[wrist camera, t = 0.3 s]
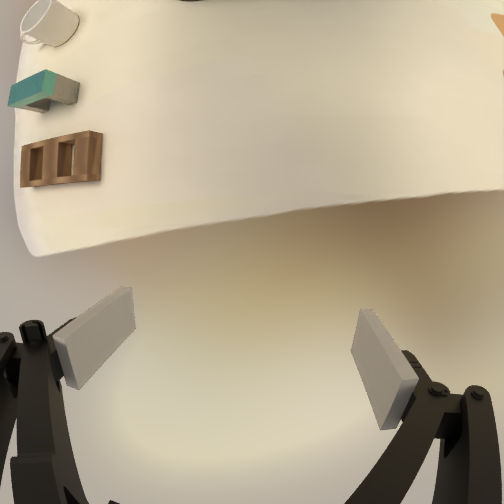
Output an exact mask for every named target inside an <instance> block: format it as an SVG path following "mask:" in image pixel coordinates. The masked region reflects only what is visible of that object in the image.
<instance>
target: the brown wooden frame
mask: <svg viewBox="0 0 504 504" xmlns="http://www.w3.org/2000/svg"><path fill="white" fill-rule="evenodd" d="M102 135H103V134H102V133H98V132H93V131H84V132H79V133H74V134H69V135H64V136H60V137H55V138H51V139H47V140H43V141H39V142H35V143H31V144H28V145H24V146H22V151H21V170H20V188H22V187H34V186H42V185H51V184H61V183H72V182H83V181H96V180H100V173H101V149H102ZM72 144H75V147H74V167H73V176H71V157H72Z"/></svg>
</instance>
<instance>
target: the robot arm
mask: <svg viewBox="0 0 504 504" xmlns="http://www.w3.org/2000/svg"><path fill="white" fill-rule="evenodd" d="M183 1H197V0H183ZM19 329H20V333H21V337H22V340H23V343H16V342H15V339H14V336H13V334H12V333H9V332H2V333H0V485H1V479H2V474H3V469H4V464H5V459H6V455H7V451H8V446H9V442H10V439H11V435H12V431H13V428H14V424H15V420H16V418H17V453H18V455H17V457H12V458H11V460H10V469H11V481H12V490H13V497H14V504H89V503H88V501H87V499H86V497H85V494H84V491H83V488H82V485H81V482H80V479H79V474H78V471H77V467H76V464H75V459H74V455H73V451H72V447H71V442H70V437H69V432H68V427H67V421H66V416H65V410H64V402H63V395H62V386H61V383H60V379H61V378H62V377H63V376H64V378H65V381H66V384H67V386H70V387H72V388H75V389H77V390H80V389H81V388H82V387H83V386H84V384H85V383H86V382H87V381H88V380H89V379H90V378H91V377H92V375H93V374H94V373H95V372H96V371H97V370H98V369H99V368H100V367H101V366H102V365H103V363H104V362H105V361H106V360H107V359H108V358H109V357H110V356H111V355H112V353H114V352H115V350H116V349H117V348H118V347H119V346H120V345H121V344H122V343H123V342H124V341H125V340H126V339H127V337H128V336H129V335H130V334H131V333H132V332H133V331H134V330H135V329H136V327H135V316H134V306H133V294H132V288H131V287H124V286H121V287H119V288H118V289H116V290H115V291H113V292H112V293H110V294H109V295H108V296H106V297H105V298H103V299H102V300H101V301H99V302H98V303H96V304H95V305H93V306H92V307H91V308H89V309H88V310H86V311H85V312H84V313H82V314H81V315H79V316H78V317H75V318H73V319H70V320H69V321H68V322H66V323H65V324H64V325H62V326H60V327H59V328H58V329H56V330H55V331H54V332H52V333H51V334H49V335H48V336H46V332H45V327H44V324H43V322H42V321H39V320H30V321H26V322H24V323H22V324H21V325H20V327H19ZM351 353H352V355H353V358H354V360H355V363H356V366H357V368H358V371H359V373H360V376H361V379H362V381H363V384H364V387H365V389H366V392H367V395H368V398H369V400H370V403H371V405H372V408H373V411H374V414H375V417H376V420H377V423H378V426H379V428H380V430H388V429H396V428H397V426H398V424H399V422H400V420H402V422H403V423H402V425H401V426H400V428H399V430H398V431H397V433H396V435H395V436H394V438H393V439H392V441H391V443H390V444H389V445H388V447H387V449H386V450H385V452H384V453H383V454H382V456H381V457H380V459H379V460H378V462H377V463H376V464H375V466H374V467H373V469H372V470H371V471H370V473H369V474H368V475H367V477H366V478H365V479H364V480H363V482H362V483H361V484H360V485H359V487H358V488H357V489H356V490H355V492H354V493H353V494H352V495H351V496H350V498H349V499H348V500H347V501H346V502H345V504H400V503H401V502H402V500H403V498H404V497H405V495H406V493H407V491H408V490H409V488H410V486H411V484H412V483H413V480H414V479H415V477H416V475H417V473H418V471H419V469H420V467H421V465H422V463H423V461H424V459H425V457H426V455H427V453H428V451H429V448H430V446H431V444H432V442H433V439H434V438H437V439H440V451H439V461H438V470H437V477H436V484H435V491H434V496H433V501H432V504H502V482H501V465H500V454H499V444H498V436H497V430H496V423H495V417H494V412H493V407H492V402H491V397H490V394H489V392H488V391H487V390H486V389H485V388H483V387H481V386H477V385H476V386H475V385H472V386H469V387H468V388H467V389H466V390H465V392H464V394H463V395H460V394H450V391H449V389H448V388H447V387H446V386H445V385H443V384H441V383H439V382H432V380H431V379H430V377H429V376H428V374H427V373H426V371H425V370H424V369H423V368H422V366H421V364H420V363H419V362H418V360H417V359H416V357H415V356H414V355H413V354H412V353H410V352H409V351H407V350H404V351H403V350H400V348H399V347H398V346H397V344H396V342H395V341H394V339H393V338H392V337H391V335H390V334H389V332H388V331H387V329H386V328H385V326H384V325H383V324H382V322H381V321H380V319H379V318H378V316H377V315H376V313H375V312H374V311H373V310H371V309H360V313H359V318H358V322H357V327H356V331H355V335H354V340H353V344H352V348H351ZM108 504H119V503H117V502H114V501H111V500H110V501H109V503H108Z"/></svg>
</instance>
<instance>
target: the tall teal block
mask: <svg viewBox="0 0 504 504" xmlns="http://www.w3.org/2000/svg"><path fill="white" fill-rule="evenodd" d="M79 84H80V83H78V82H76V81H73V80H71V79H69V78H66V77H64V76H61V75H59V74H56V73H54V72H51V71H49V70H43V71H41V72H39V73H37V74H34V75H32V76H30V77H28V78H26V79H24V80H22V81H20V82H18V83H16V84H14V85H12V86H11V90H10V96H9V101H8V106H10V107H15V108H20V109H25V110H30V111H35V112H40V113H43V112H46V111H48V108H49V101H50V99H52V100H55V101H58V102H62V103H65V104H68V105H70V104H73V103H77V97H78V90H79Z"/></svg>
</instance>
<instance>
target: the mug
mask: <svg viewBox="0 0 504 504" xmlns="http://www.w3.org/2000/svg"><path fill="white" fill-rule="evenodd" d="M78 23H79V18H78V16H77V15H76V14H75V13H74V12H73V11H71V10H70V9H68V8H67V7H65V6H64V5H62V4H61V3H59V2H58V1H56V0H38V1H37V2H36V3H35V4H34V5H33V6H32V7H31V8H30V9H29V10H28V11H27V13H26V15H25V16H24V18H23V20H22V22H21V25H20V31H21V34H20V38H21V40H22V41H23V42H25V43H28V44H39V43H42V42H44V43H46V44H48V45H50V46H59V45H61V44H63V43H65V42H66V41H67V40H68V39H69V38H70V37H71V36H72V35H73V33H74V32H75V30H76V28H77V26H78ZM25 35H29V36H31V37H33V38H35V39H37V40H36V41H33V42H27V41H26V40H25V39H24V36H25Z"/></svg>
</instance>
